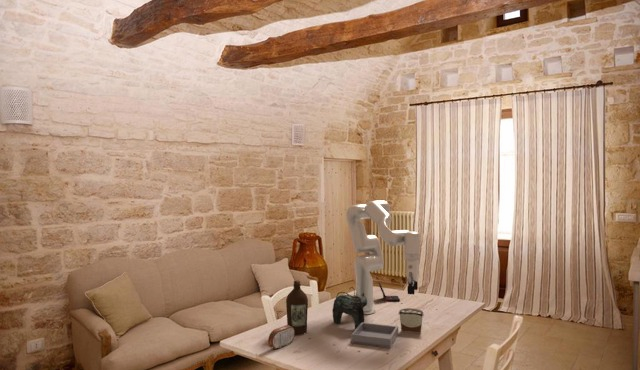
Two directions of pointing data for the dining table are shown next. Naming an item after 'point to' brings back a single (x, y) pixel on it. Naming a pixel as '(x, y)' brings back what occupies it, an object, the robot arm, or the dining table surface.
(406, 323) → the food container
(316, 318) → the dining table surface
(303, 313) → the olive oil
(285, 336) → the tin
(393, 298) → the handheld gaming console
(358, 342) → the tray
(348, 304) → the teal animal figurine
